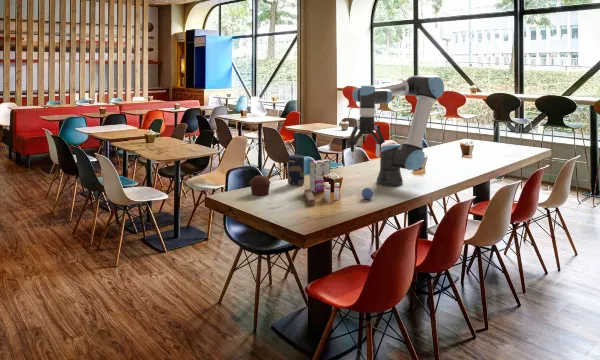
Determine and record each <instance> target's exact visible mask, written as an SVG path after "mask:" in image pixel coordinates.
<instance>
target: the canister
mask: <svg viewBox="0 0 600 360" xmlns="http://www.w3.org/2000/svg"><path fill="white" fill-rule="evenodd" d="M287 183H288V185H290V186H296V187H297V186H303V185H304V184H305V156H304V155H302V154H298V153H295V154H291V155H289V156H287Z"/></svg>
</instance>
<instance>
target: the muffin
mask: <svg viewBox="0 0 600 360" xmlns="http://www.w3.org/2000/svg"><path fill="white" fill-rule="evenodd" d="M270 184H272V183H271V181H270V180H269V178H268V177H267V176H265V175H261V174H260V175H256V176H254V177H252V178H251V179H250V180H249V185H250V189H251V196H254V197H266V196H269V192H270V186H271V185H270Z"/></svg>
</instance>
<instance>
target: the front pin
mask: <svg viewBox="0 0 600 360" xmlns="http://www.w3.org/2000/svg"><path fill="white" fill-rule="evenodd" d="M333 192H334V197H333V198H334V201H339V200H340V182H335V183H334V191H333Z"/></svg>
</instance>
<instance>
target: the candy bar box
mask: <svg viewBox="0 0 600 360" xmlns="http://www.w3.org/2000/svg"><path fill="white" fill-rule="evenodd" d="M326 174H330V175H331V160H330V159H319V160H314V161H309V189H310V190H311V192H312V193H313V192H314V193H317V192H324V179H323V176H324V175H326Z"/></svg>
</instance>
